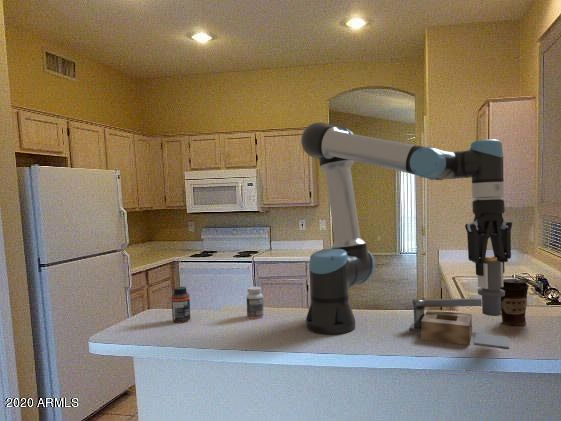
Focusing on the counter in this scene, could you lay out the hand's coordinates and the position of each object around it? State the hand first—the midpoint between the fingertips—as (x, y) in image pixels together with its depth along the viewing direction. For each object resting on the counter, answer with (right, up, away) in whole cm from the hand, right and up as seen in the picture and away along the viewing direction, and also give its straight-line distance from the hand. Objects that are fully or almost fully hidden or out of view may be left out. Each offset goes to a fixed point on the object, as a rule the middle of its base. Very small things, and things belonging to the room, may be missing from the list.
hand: (490, 286), depth 106 cm
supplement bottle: (-89, -17, +29) cm, 95 cm away
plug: (0, -7, 0) cm, 7 cm away
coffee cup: (+15, -14, +15) cm, 26 cm away
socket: (-9, -15, +6) cm, 18 cm away
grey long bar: (-7, -8, +12) cm, 16 cm away
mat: (0, -15, 0) cm, 15 cm away
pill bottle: (-64, -16, +31) cm, 73 cm away
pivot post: (-14, -15, +13) cm, 24 cm away
